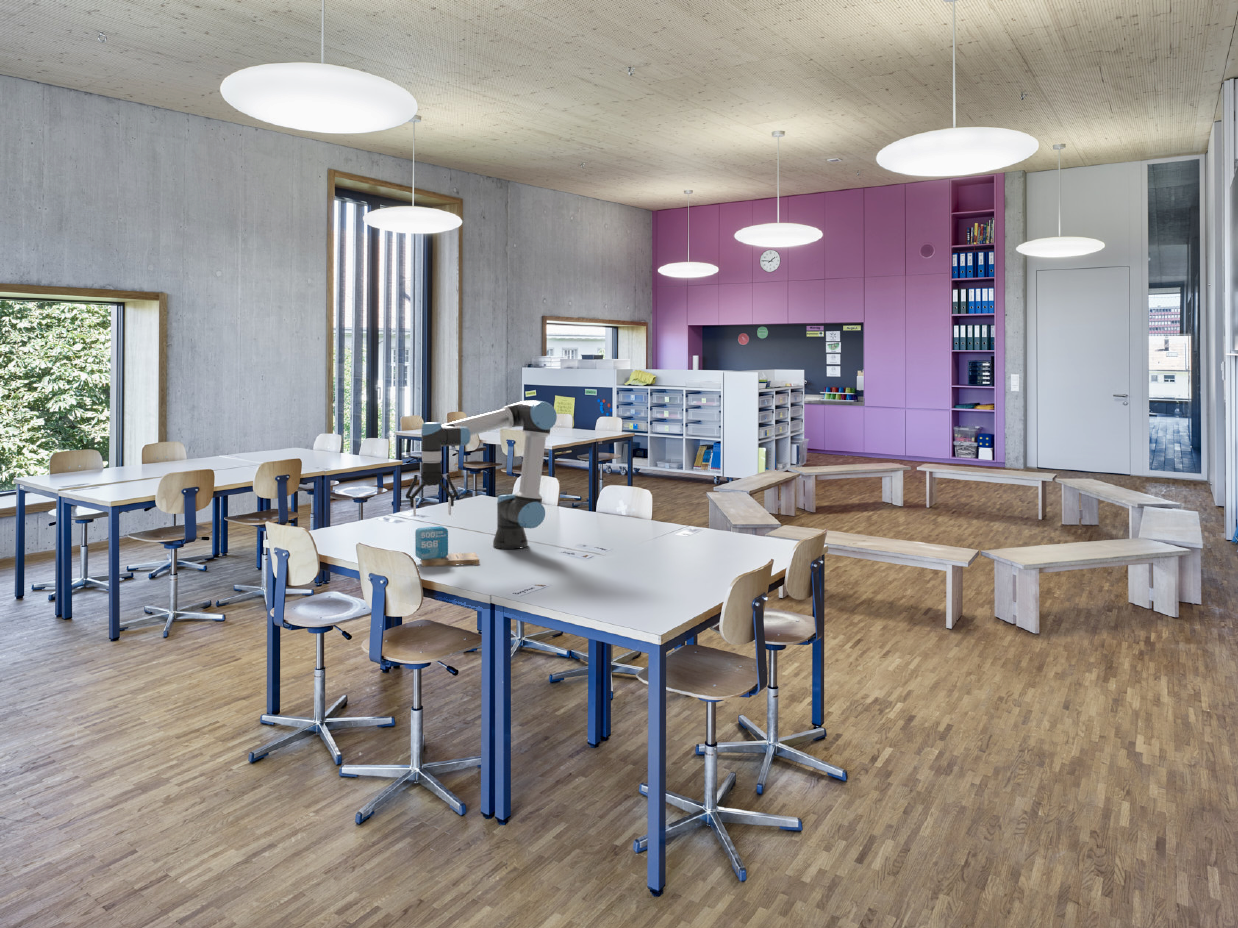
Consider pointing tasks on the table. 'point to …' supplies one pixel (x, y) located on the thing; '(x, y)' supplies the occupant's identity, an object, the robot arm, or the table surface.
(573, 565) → the table surface
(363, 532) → the table surface
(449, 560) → the oak board
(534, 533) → the table surface
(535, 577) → the table surface
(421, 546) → the data package
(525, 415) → the robot arm
